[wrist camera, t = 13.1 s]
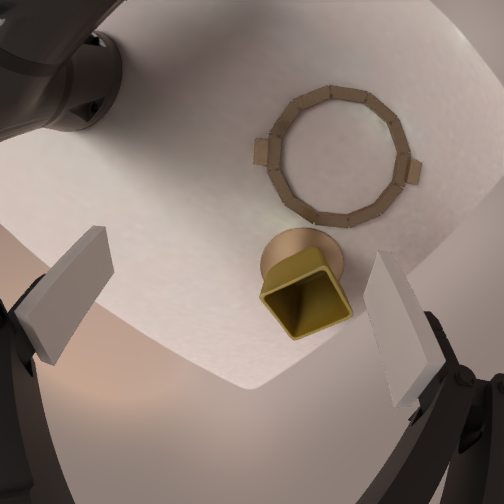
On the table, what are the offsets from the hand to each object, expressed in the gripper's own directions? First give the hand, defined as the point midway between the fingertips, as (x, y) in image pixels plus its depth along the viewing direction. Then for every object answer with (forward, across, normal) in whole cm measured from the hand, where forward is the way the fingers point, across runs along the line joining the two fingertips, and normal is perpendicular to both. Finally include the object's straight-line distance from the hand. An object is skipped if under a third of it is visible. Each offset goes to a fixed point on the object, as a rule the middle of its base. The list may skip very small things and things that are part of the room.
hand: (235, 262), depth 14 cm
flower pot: (+25, +8, -16) cm, 30 cm away
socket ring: (+25, +10, 0) cm, 27 cm away
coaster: (+25, +7, -16) cm, 31 cm away
